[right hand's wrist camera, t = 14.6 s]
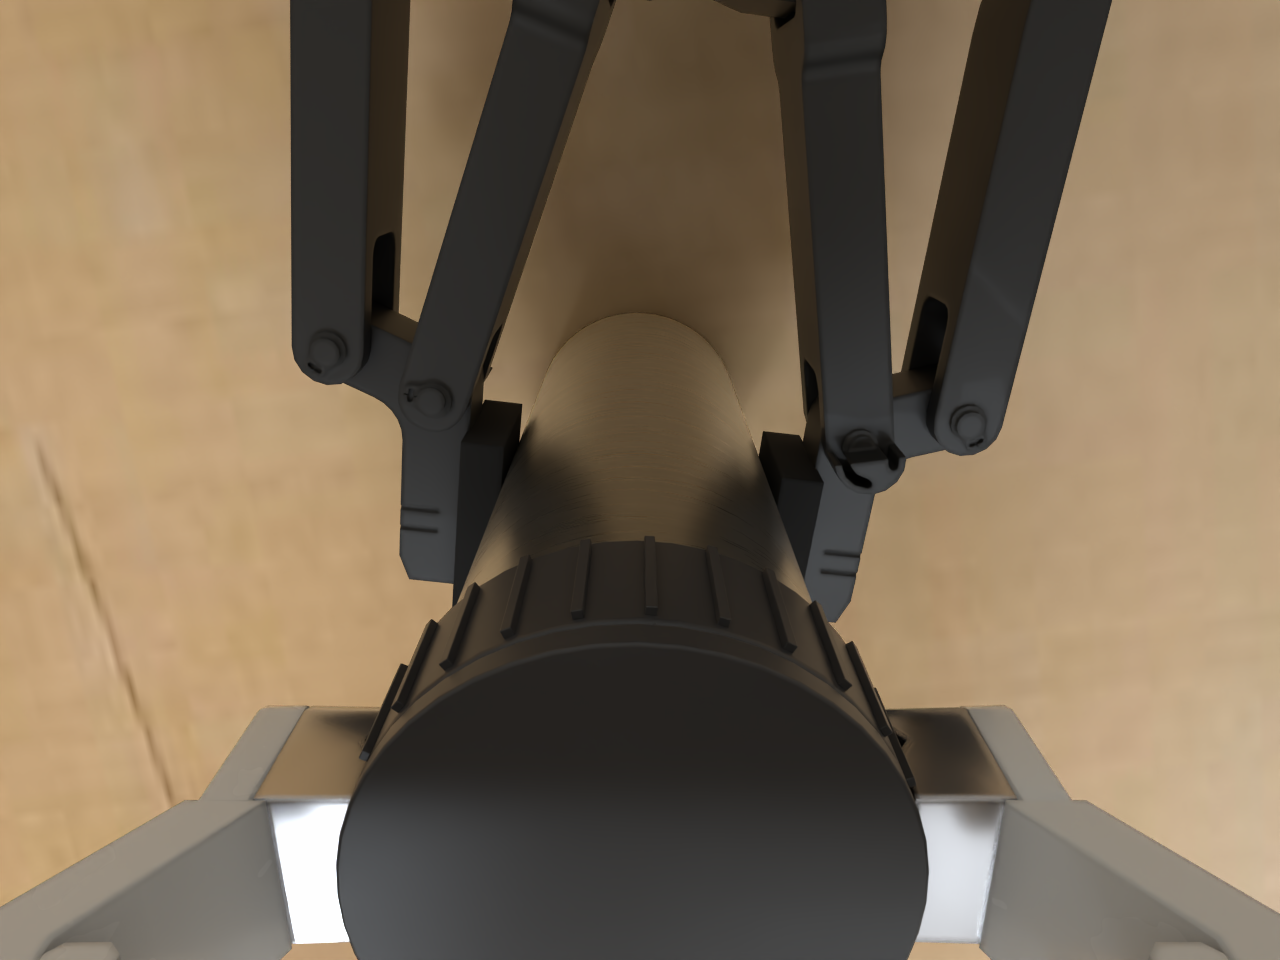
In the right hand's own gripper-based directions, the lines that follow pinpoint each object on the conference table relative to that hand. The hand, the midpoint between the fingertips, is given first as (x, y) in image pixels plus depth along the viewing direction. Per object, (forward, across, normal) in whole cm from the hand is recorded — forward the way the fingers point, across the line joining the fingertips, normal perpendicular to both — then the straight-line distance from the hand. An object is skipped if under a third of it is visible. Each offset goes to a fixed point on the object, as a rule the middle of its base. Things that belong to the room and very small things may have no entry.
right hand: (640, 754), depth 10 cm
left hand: (+8, -1, -5) cm, 9 cm away
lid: (-2, 0, 0) cm, 2 cm away
